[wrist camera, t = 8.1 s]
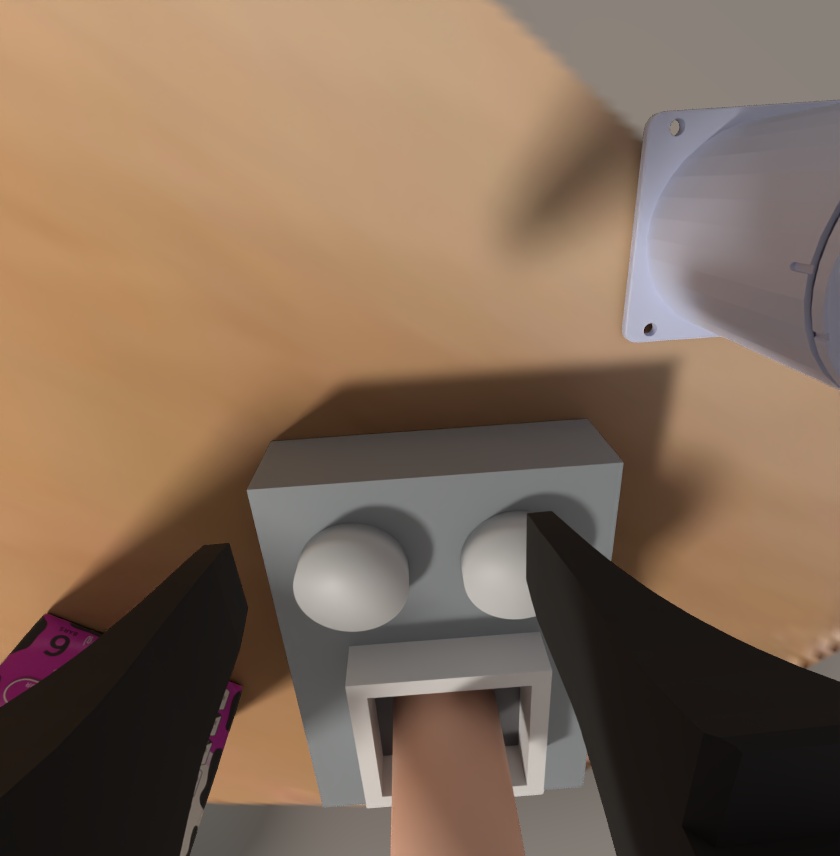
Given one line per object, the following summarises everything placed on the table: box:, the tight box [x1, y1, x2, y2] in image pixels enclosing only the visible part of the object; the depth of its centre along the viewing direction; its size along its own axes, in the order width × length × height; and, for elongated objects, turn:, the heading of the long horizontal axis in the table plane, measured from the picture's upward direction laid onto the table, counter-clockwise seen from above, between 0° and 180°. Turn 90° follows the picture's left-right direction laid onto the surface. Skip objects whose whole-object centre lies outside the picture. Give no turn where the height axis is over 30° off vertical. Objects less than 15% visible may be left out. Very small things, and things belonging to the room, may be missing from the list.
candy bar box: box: [0, 614, 242, 856], centre depth 21 cm, size 11×5×16 cm, turn 57°
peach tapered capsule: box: [391, 689, 525, 856], centre depth 21 cm, size 5×7×8 cm
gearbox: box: [247, 419, 624, 808], centre depth 24 cm, size 14×20×6 cm
